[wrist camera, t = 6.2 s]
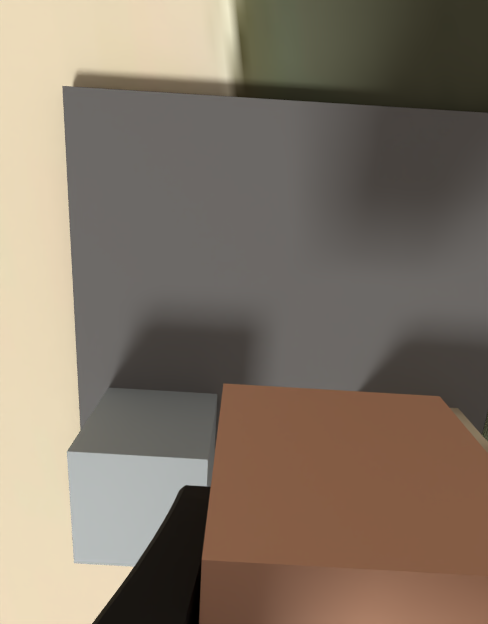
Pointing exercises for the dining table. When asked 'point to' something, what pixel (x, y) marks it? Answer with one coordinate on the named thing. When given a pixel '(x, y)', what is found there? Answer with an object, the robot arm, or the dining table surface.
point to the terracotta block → (344, 511)
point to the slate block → (136, 468)
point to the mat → (277, 246)
